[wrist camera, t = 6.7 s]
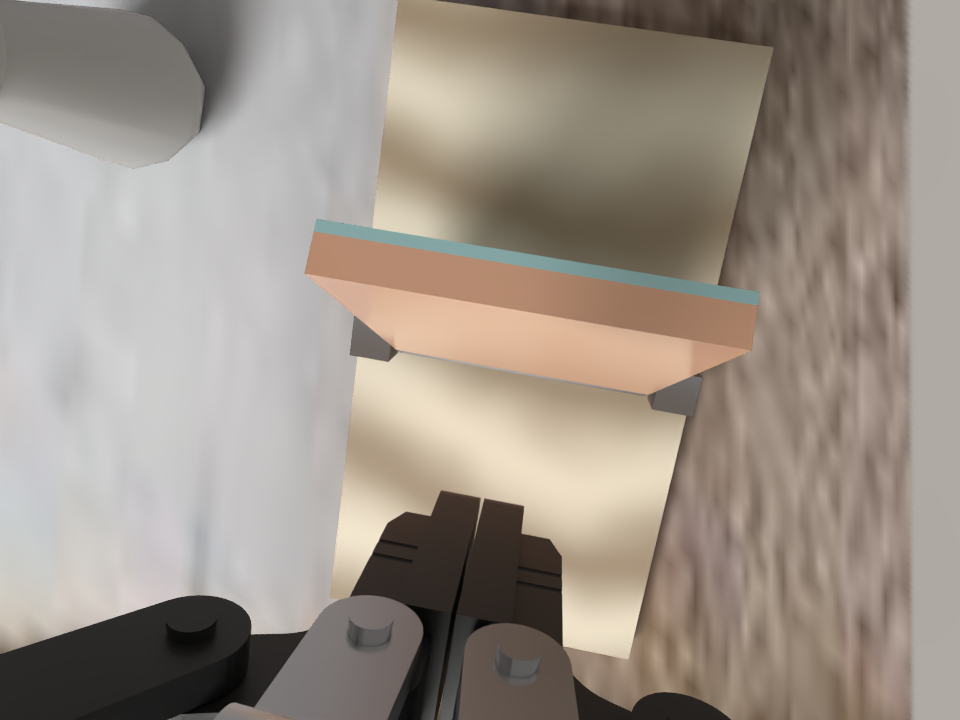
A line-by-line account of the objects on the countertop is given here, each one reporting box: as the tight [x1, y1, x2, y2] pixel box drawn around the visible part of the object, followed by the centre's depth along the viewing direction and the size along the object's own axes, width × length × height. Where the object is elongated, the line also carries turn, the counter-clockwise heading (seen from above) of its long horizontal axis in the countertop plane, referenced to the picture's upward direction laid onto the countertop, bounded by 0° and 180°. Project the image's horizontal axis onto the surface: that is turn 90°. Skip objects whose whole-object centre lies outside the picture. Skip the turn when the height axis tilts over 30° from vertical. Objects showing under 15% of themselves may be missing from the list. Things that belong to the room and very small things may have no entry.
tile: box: [305, 219, 760, 396], centre depth 22 cm, size 13×10×1 cm
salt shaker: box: [0, 0, 206, 169], centre depth 23 cm, size 6×6×13 cm
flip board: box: [330, 0, 774, 659], centre depth 29 cm, size 26×14×3 cm, turn 171°
